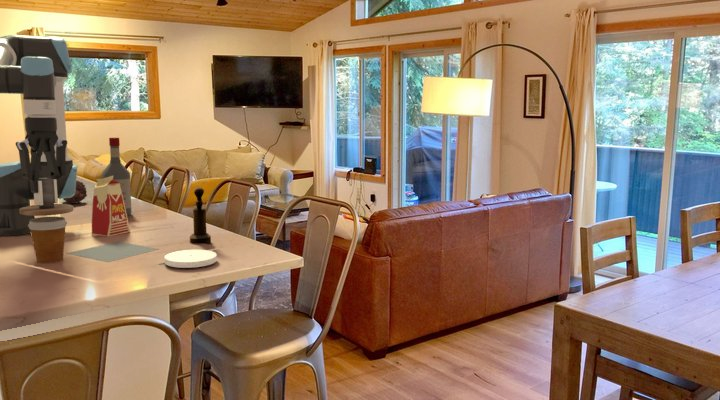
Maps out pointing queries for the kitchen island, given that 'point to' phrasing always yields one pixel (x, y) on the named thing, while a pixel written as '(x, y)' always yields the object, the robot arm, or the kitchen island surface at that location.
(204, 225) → the black pedestal statuette
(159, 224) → the kitchen island surface
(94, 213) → the milk carton
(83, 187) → the pine cone
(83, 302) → the kitchen island surface
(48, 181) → the wooden lid with knob
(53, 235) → the disposable coffee cup
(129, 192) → the liquor
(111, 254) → the slate mat
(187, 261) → the plastic lid
